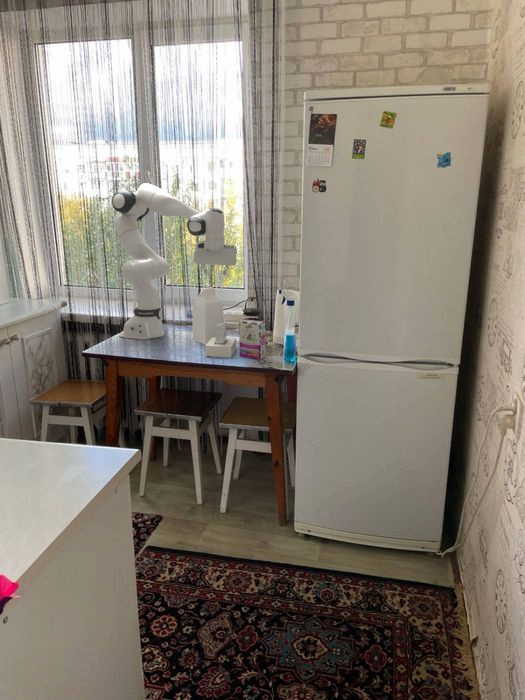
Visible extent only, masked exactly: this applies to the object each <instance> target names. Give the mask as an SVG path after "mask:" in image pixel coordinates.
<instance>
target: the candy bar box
mask: <svg viewBox="0 0 525 700" xmlns="http://www.w3.org/2000/svg"><path fill="white" fill-rule="evenodd" d="M238 335H239V336H238V337H239V338H238V340H239V344H238V345H239V357H240V358H246V359H252V360H259V361H261V360H263V359H265V358H266V357H267V356H266V355H267V354H266V350H267V349H266V345H267V344H266V335H267V333H266V321H255V320H247V319H246V318H243V319H241V320H239V321H238Z"/></svg>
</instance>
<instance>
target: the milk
mask: <svg viewBox="0 0 525 700" xmlns="http://www.w3.org/2000/svg"><path fill="white" fill-rule="evenodd" d="M214 288H215V287H204V288H201V290H200V291H199V295H198V296H197V297H196V298H195V300H194V301H193V303H192V341H195V342H196V343H199V344H201V345H204V346H206V344H207V343H208V342H209V341H210V339H211V338H212V337H216V325H217V324H218V323H225V313H224V312H225V311H224V304H223V301H222V300H221V299H220V297H219V296H218V295H217V293H216V291H215V289H214Z"/></svg>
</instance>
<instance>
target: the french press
mask: <svg viewBox="0 0 525 700" xmlns="http://www.w3.org/2000/svg"><path fill="white" fill-rule="evenodd" d="M247 299H248V300H250V302H254V300H256V299H257V297H256V296H248V297H247ZM262 311H263V310H262V309H261V308H257V307H248V308H243V309H242V312H243V316H245V319H247V320H255V321H262V319H261V318H258V317H259V316H261V314H262V313H261V312H262ZM247 317H248V318H247Z"/></svg>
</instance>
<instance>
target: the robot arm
mask: <svg viewBox="0 0 525 700" xmlns="http://www.w3.org/2000/svg"><path fill="white" fill-rule="evenodd" d="M111 205H112V208H113V210H115V211H116V212H118V213H119V214H118V215H117V216H115V217H114V220H113V225H114V229H115V231H116V235H117V237H118V239H119V241H120V244H121V246H122V248H123V250H124V252H125V253H126V254H127V255H128V256H131V257H132V258H134V259H131V260H128V261H126V262H125V263H123V265H122V267H121V273H122V277H123V278H124V279H125V281H126V282H128V283H129V284H130V285H131V286H132V287H133V289H134V292H135V297H136V298H135V299H136V307H135V309H133V311H132V313H133V314H134V315H133V316H131V317H130V318H129V319H128V320H127V321H126V322H125V323H124V325H123V330H122V331H121V332H120V333H119V338H123V337H124V338H123V339H134V340H135V339H136V340H149V339H155V338H160V337H163V336H164V335H165V334H166V333H165V331H164V327H163V323H162V308H161V304H160V302H161V301H160V292H159V291H158V290H157V289H156V288H154V287H153V286H152V284H151V281H152V280H157V279H161V278H163V277H165V276H167V275H168V273H169V271H170V265H169V262H168V261H167V259H166V258H165V257H162V256H161V255H159V254H158V253H156V252H155V251H154V250H153V248H151V247H150V246H149V244H148V243H147V241H146V239H145V238H144V236H143V234H142V232H141V230H140V228H139V226H138V223H137V222H139V221H142V219H143V218H144V217H146V216H147V215H148V214H149V212H150V211H152V212H154V213H156V214H158V215H160V216H163V217H178V218H179V217H180V218H184V219H186V220H187V221H186V228H187V231H188V233H189V234H190V235H191V236H194V237H203V236H205V240H202V241H200V242H197V243H195V250H194V252H193V263H194V264H196V265H200V266H201V269H202V270H203V274H204V275H205V274H206V275H208V271H209V270H208V269H206V267H205V266H206V265H211V266H212V265H215V266H219V265H220V266H225V270H222V272H223V273H222V274H223V275H227V274H228V270H229V269H230V266H236V264H237V262H238V261H237V260H238V259H237V254H238V248H237V246H235V245H232V244H225V243H226V242H225V239H226V238H225V228H226V226H225V215H224V211H222V210H221V209H219V208H214V207H209V208H206V209H205V211H201V210H199V209H198V208H196V207H194V206H192V205H189V204H188V203H185V202H183V201H182V200H180V199H178V198H176V197H175V196H174V195H172V194H170V193H168V192H167V191H165V190H163V189H162V188H160V187H158V186H156V185H153V184H150V183H142V184H141V185H140V186H139V187H138V188H137V190H136V191H133V190H129V189H128V190H119V191H116V192H115V193H114V194H113V195H112V198H111Z"/></svg>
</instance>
